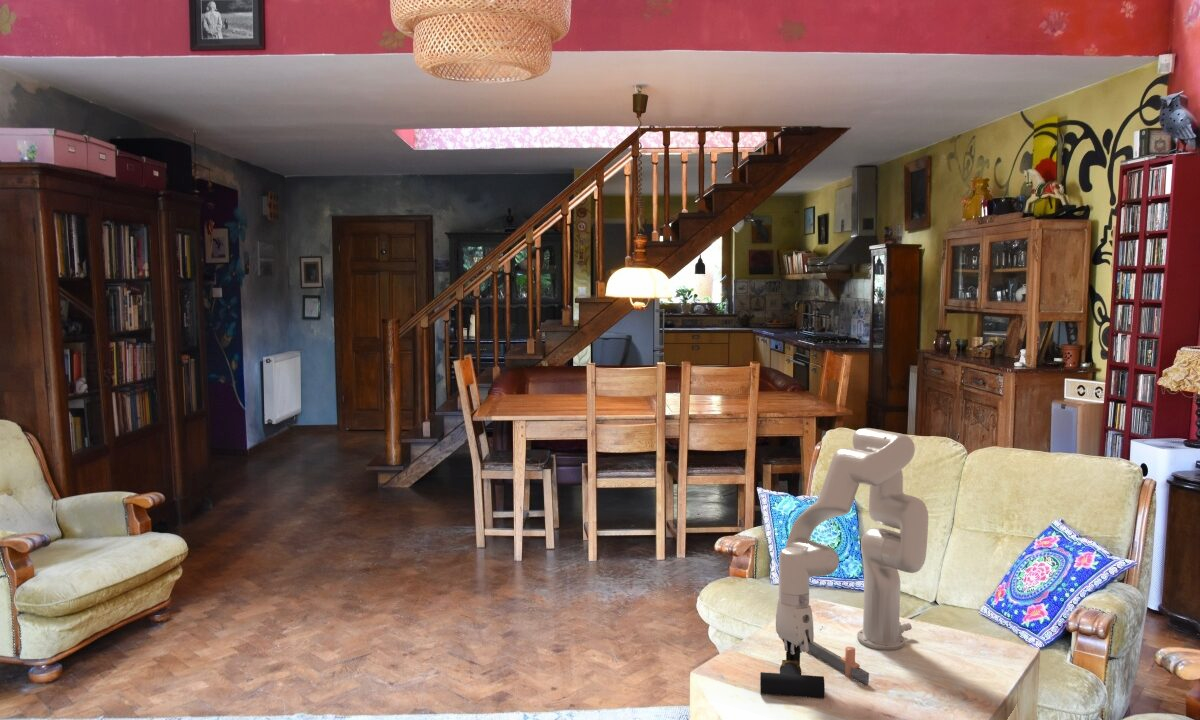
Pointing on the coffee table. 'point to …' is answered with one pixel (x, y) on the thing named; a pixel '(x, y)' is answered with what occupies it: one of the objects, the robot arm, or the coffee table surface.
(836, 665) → the guide rail
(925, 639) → the coffee table surface
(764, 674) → the pipe connector
